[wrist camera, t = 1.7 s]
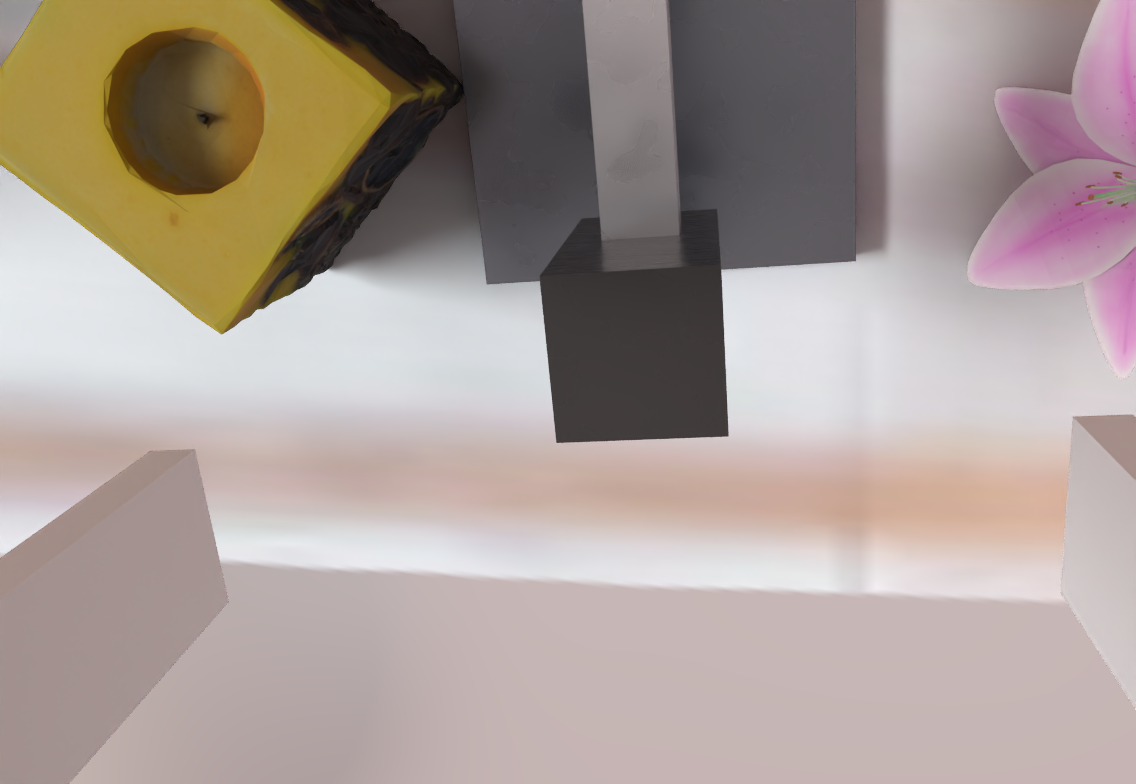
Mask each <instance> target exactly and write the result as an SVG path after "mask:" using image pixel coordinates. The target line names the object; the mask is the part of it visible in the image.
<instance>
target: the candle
mask: <svg viewBox="0 0 1136 784" xmlns="http://www.w3.org/2000/svg"><path fill="white" fill-rule="evenodd" d="M463 89H464V87H463V85H462V84H461V83H460V82H459V80H458V79H457V78H456V77H455V76H454V75H453V74H452V73H451V72H450V71H449V70H448V69H447V68H446V67H445V66H444V65H443V64H442V63H441V62H440V61H439V60H438V59H436V58H435V57H434V56H433V55H430V54H429V53H428V51H427V49H426V47H425V46H424V44H422V43H421V42H420V41H418V40H417V39H416V38H415V37H413V36H412V35H411V34H409V33H407V32H405V31H402V30H401V29H400V27H399V25H398V23H397V22H396V21H395V20H393V19H391V18H389V17H388V16H387V14H386V13H385V12H384V11H383V10H381V9H378V8H377V7H376V6H375V4H374V3H373V2H372V1H371V0H43V1H42V3H41V5H40V6H39V8H38V10H37V11H36V13H35V15H34V16H33V18H32V20H31V21H30V23H29V25H28V26H27V28H26V30H25V31H24V33H23V35H22V36H21V38H20V39H19V41H18V42H17V44H16V45H15V47H14V48H13V50H12V51H11V53H10V54H9V56H8V57H7V59H6V60H5V62H4V63H3V65H2V66H1V68H0V165H2V166H3V167H4V168H6V169H7V170H9V171H10V172H11V173H13V174H14V175H15V176H17V177H18V178H19V179H20V180H22V181H23V182H24V183H26V184H27V185H28V186H30V187H31V188H32V189H33V190H35V191H36V192H37V193H39V194H40V195H41V196H43V197H44V198H45V199H47V200H48V201H50V202H51V203H52V204H54V205H55V206H57V207H58V208H59V209H61V210H62V211H64V212H65V213H66V214H68V215H69V216H70V217H71V218H73V219H74V220H75V221H77V222H78V223H79V224H81V225H82V226H83V227H85V228H86V229H87V230H88V231H90V232H91V233H92V234H94V235H95V236H96V237H98V238H99V239H100V240H102V241H103V242H104V243H105V244H107V245H108V246H109V247H111V248H112V249H113V250H114V251H116V252H117V253H118V254H119V255H121V256H122V257H123V258H124V259H126V260H127V261H128V262H130V263H131V264H132V265H133V266H135V267H136V268H137V269H138V270H140V271H141V272H142V273H144V274H145V275H146V276H147V277H149V278H150V279H151V280H152V281H154V282H155V283H156V284H157V285H159V286H160V287H161V288H162V289H163V290H165V291H166V292H167V293H168V294H170V295H171V296H172V297H173V298H174V299H176V300H177V301H178V302H179V303H180V304H181V305H183V306H184V307H185V308H186V309H187V310H189V311H190V312H191V313H192V314H193V315H194V316H196V317H197V318H199V319H200V320H202V321H203V322H204V323H206V324H207V325H209V326H210V327H212V328H213V329H214V330H216V331H217V332H219V333H220V334H223V333H225V332H227V331H228V330H230V329H231V328H233V327H235V326H236V325H237V324H238V323H239V322H240V321H241V320H243V319H246V318H248V317H250V316H251V315H252V314H253V313H254V312H255V311H256V310H257V309H264V308H265V307H267V306H268V305H269V304H271V303H272V302H274V301H276V300H278V299H281V298H283V297H285V296H288V295H290V294H292V293H293V292H295V291H296V290H297V289H300V288H303V287H305V286H306V285H307V284H308V283H309V282H310V281H311V280H312V278H313V276H315V275H317V274H321V273H323V272H325V271H326V270H327V269H329V268H330V267H331V266H332V265H333V262H334V258H335V257H336V256H337V255H338V254H339V253H340V250H341V248H342V247H343V246H344V245H345V244H347V243H348V242H349V241H350V240H351V239H352V237H353V235H354V232H355V230H356V229H358V228H359V227H360V224H361V223H362V222H363V220H364V219H365V218H366V217H367V216H368V215H369V213H370V211H371V210H373V209H376V208H377V207H378V205H379V203H380V202H381V200H382V198H383V197H384V196H385V194H386V193H387V192H388V191H389V189H390V187H391V186H392V184H393V182H394V180H395V179H396V177H397V176H398V175H399V174H400V173H401V172H402V171H403V170H404V169H405V168H406V167H407V166H408V165H409V164H410V163H411V162H412V160H413V159H414V157H415V156H416V154H417V153H418V152H419V151H420V149H421V148H423V147H424V145H425V143H426V140H427V138H428V135H429V133H430V132H431V131H432V129H433V128H435V127H436V126H437V125H438V124H439V123H440V122H441V121H442V120H443V118H444V116H445V115H446V113H447V111H448V110H449V109H450V108H452V107H453V106H454V105H456V104H457V103H459V102H460V99H461V96H462V94H463Z"/></svg>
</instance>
